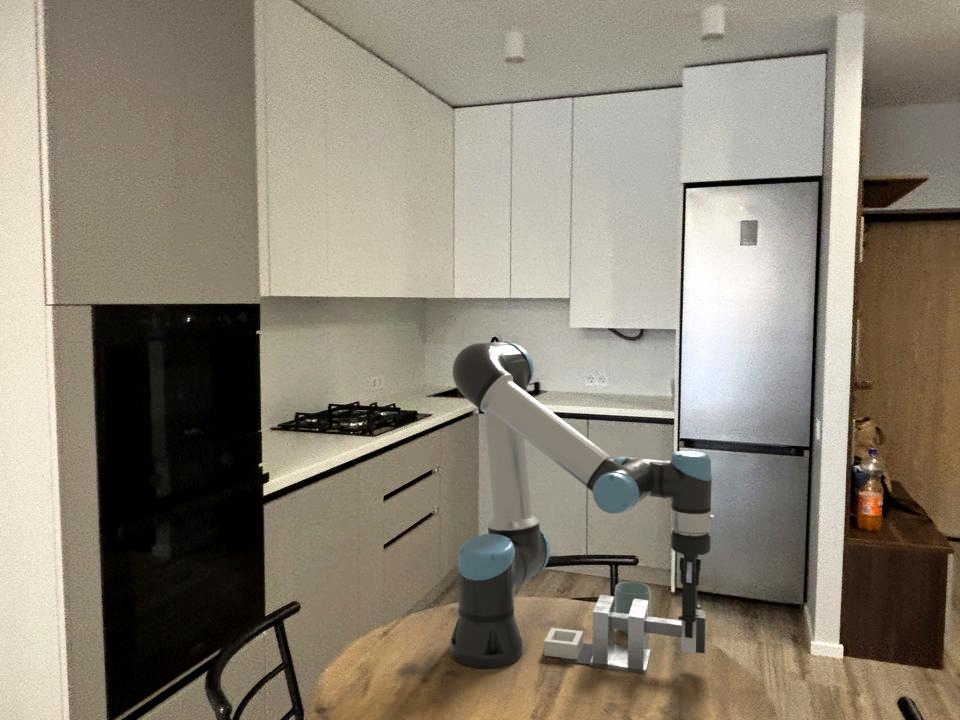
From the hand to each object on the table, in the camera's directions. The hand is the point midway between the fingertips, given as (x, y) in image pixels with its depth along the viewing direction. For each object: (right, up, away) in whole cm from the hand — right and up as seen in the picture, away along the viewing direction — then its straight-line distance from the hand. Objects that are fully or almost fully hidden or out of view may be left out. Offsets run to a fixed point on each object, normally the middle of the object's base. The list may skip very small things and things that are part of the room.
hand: (689, 646), depth 145 cm
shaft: (-7, 0, +2) cm, 8 cm away
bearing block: (-13, -4, +5) cm, 14 cm away
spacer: (-24, -2, +8) cm, 25 cm away
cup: (-8, -4, +18) cm, 20 cm away
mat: (-21, -4, +7) cm, 22 cm away
